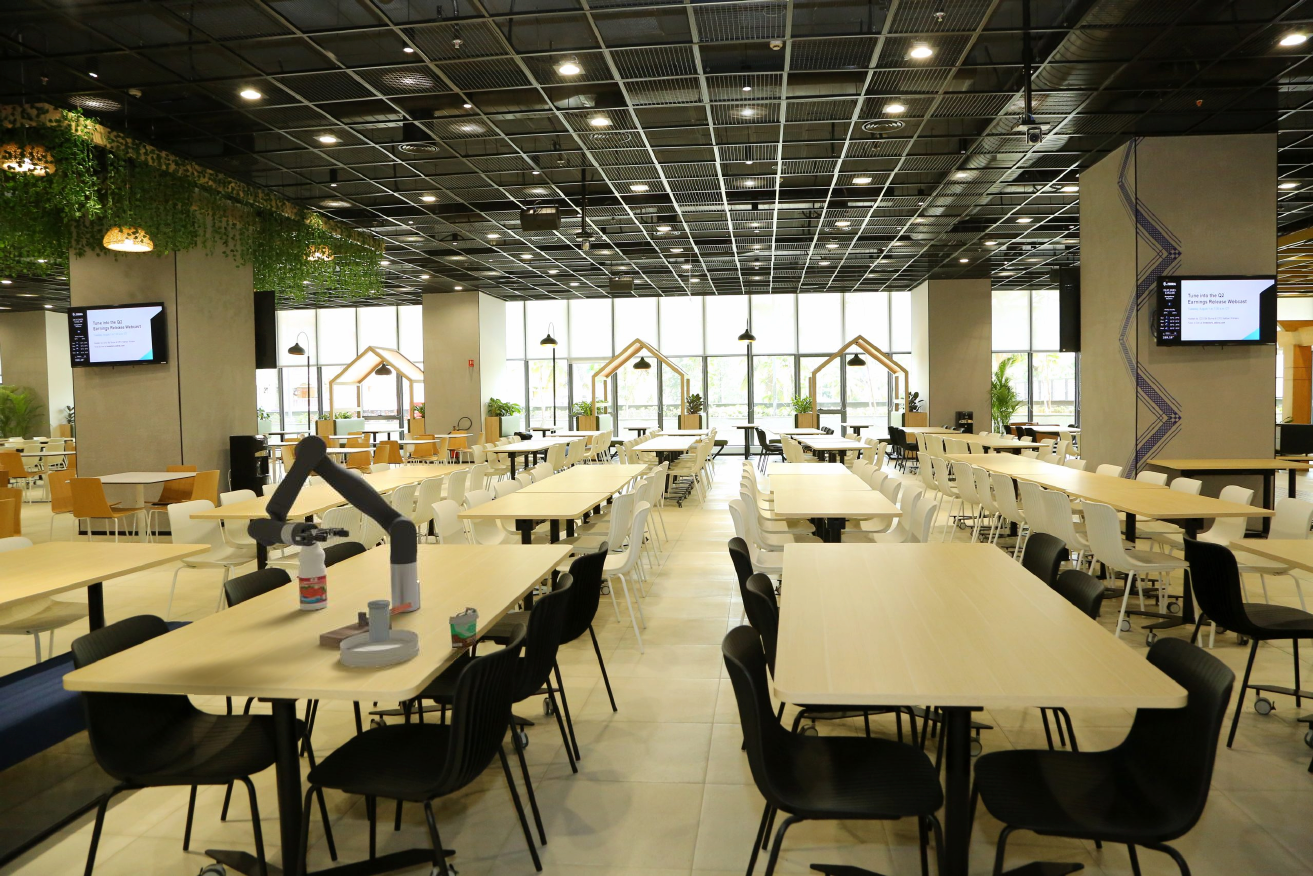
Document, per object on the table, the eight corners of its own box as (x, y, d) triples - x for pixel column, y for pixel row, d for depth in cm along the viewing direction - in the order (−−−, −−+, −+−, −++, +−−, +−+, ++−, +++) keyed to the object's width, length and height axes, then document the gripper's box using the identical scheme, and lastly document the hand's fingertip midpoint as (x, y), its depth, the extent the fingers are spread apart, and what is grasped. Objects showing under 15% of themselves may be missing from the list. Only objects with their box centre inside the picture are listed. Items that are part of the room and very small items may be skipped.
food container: (469, 651, 235) (468, 617, 235) (449, 650, 237) (448, 617, 236) (486, 639, 247) (485, 607, 247) (467, 638, 249) (466, 606, 248)
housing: (369, 627, 264) (368, 605, 264) (391, 630, 260) (390, 608, 259) (319, 644, 246) (318, 620, 246) (343, 648, 242) (342, 624, 241)
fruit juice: (327, 603, 300) (324, 529, 299) (327, 609, 291) (324, 533, 290) (300, 606, 296) (297, 531, 295) (299, 612, 288) (296, 535, 286)
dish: (374, 673, 218) (373, 655, 218) (323, 662, 230) (322, 644, 230) (435, 651, 237) (434, 634, 237) (385, 641, 249) (384, 625, 249)
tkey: (375, 614, 262) (410, 601, 255) (377, 620, 262) (412, 607, 255) (359, 620, 255) (394, 606, 249) (361, 626, 255) (396, 613, 248)
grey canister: (378, 635, 238) (377, 599, 237) (395, 637, 235) (394, 601, 235) (363, 641, 232) (362, 603, 231) (380, 643, 230) (379, 606, 229)
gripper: (280, 525, 245) (317, 527, 238) (317, 518, 258) (354, 520, 251) (281, 549, 246) (319, 552, 239) (319, 541, 258) (356, 544, 251)
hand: (337, 536), depth 245 cm, fingers open, 8 cm apart
